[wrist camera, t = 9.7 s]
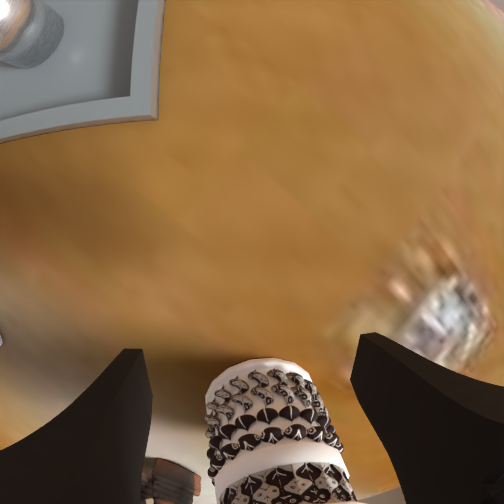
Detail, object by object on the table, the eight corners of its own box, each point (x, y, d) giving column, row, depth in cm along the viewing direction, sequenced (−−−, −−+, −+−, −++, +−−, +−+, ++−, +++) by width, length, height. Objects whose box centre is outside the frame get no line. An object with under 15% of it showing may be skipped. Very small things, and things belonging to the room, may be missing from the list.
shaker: (11, 80, 12) (-75, 59, 5) (11, 27, 11) (-62, -9, 3) (66, 53, 13) (-11, 8, 5) (64, 0, 11) (3, -58, 4)
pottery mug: (221, 483, 27) (200, 546, 21) (150, 463, 30) (129, 517, 24) (165, 452, 20) (132, 539, 14) (87, 423, 23) (55, 491, 17)
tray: (-48, 157, 13) (-70, 160, 11) (-25, -2, 9) (-41, -11, 7) (158, 119, 15) (150, 114, 13) (174, -60, 11) (171, -81, 9)
